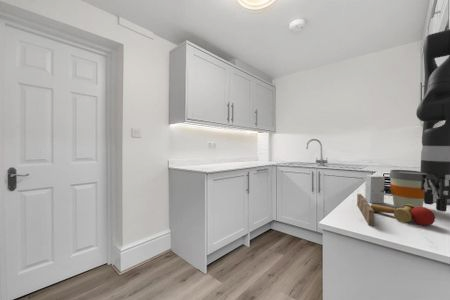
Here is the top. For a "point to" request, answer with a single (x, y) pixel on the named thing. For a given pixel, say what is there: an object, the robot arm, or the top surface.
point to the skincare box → (374, 189)
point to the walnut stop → (365, 209)
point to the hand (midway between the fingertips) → (434, 207)
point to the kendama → (408, 213)
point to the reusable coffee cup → (406, 188)
